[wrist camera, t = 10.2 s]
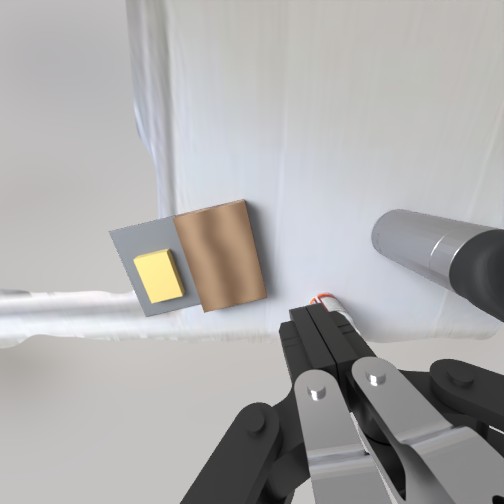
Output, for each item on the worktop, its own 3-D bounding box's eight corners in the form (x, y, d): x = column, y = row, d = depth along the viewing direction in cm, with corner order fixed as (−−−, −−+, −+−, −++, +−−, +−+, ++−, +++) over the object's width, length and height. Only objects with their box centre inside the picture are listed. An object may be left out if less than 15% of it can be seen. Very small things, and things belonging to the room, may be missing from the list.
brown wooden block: (243, 199, 41) (244, 201, 38) (264, 287, 47) (267, 297, 43) (178, 214, 41) (172, 218, 38) (206, 301, 47) (204, 312, 43)
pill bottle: (316, 322, 51) (338, 361, 40) (302, 301, 49) (321, 337, 38) (341, 307, 50) (370, 343, 39) (327, 286, 48) (354, 317, 37)
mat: (175, 215, 41) (174, 215, 41) (204, 302, 47) (204, 302, 47) (109, 231, 41) (108, 231, 41) (146, 315, 47) (146, 316, 47)
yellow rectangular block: (133, 259, 41) (137, 256, 43) (151, 303, 44) (155, 298, 46) (166, 251, 41) (169, 248, 43) (182, 295, 44) (184, 291, 46)
